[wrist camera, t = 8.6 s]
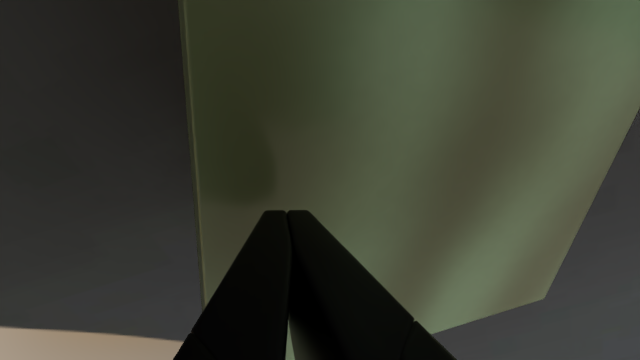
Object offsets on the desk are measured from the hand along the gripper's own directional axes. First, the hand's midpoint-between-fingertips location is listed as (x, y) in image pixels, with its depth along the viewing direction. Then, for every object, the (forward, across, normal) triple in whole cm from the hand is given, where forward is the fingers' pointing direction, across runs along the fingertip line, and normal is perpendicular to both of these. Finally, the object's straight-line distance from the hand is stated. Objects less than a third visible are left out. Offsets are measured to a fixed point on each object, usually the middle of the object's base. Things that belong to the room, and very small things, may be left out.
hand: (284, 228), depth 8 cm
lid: (+3, -4, 0) cm, 5 cm away
